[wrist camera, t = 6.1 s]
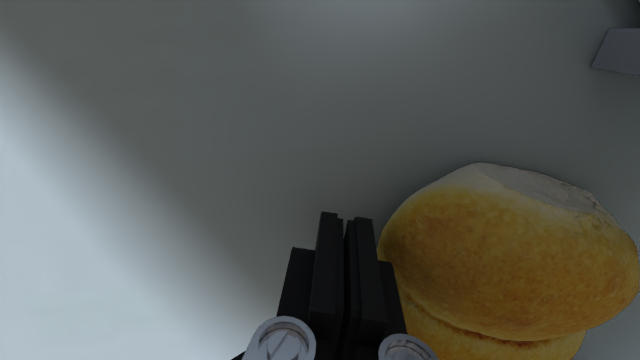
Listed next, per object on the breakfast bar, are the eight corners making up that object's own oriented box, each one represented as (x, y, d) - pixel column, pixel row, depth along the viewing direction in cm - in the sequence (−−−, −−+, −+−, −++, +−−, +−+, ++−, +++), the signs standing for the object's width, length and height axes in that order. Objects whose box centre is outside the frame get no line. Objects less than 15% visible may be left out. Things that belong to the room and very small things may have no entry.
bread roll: (338, 317, 14) (336, 416, 10) (410, 135, 10) (449, 194, 6) (507, 355, 14) (562, 464, 11) (642, 195, 10) (800, 283, 7)
